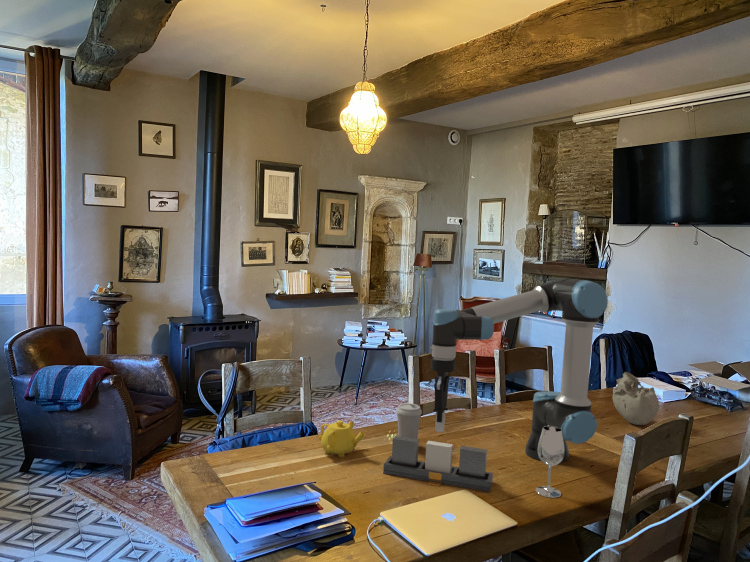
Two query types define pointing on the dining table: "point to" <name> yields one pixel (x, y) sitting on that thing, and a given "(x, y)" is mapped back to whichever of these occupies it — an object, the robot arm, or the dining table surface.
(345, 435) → the teapot
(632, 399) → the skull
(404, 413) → the coffee cup
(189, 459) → the dining table surface
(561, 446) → the wineglass
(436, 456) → the panel
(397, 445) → the rack
